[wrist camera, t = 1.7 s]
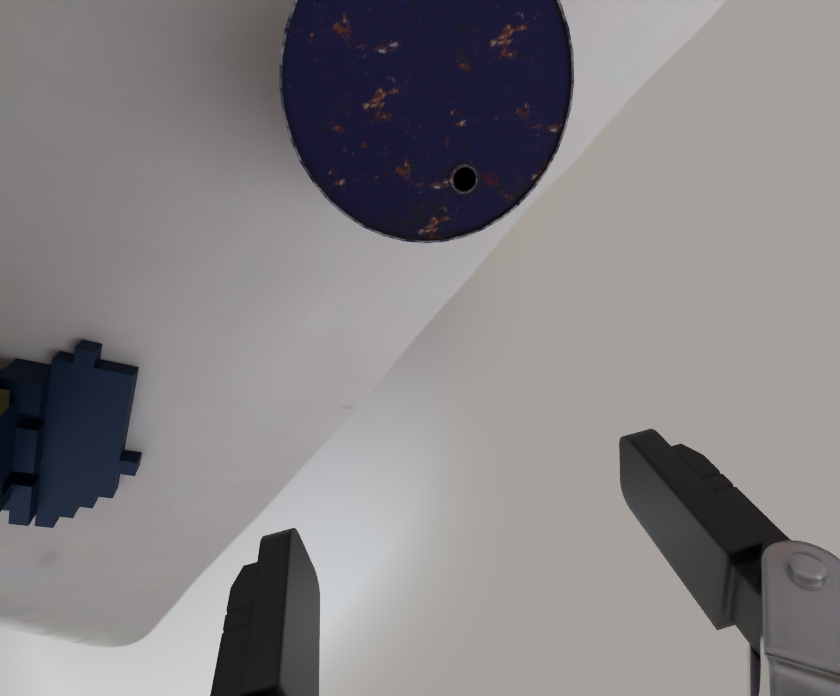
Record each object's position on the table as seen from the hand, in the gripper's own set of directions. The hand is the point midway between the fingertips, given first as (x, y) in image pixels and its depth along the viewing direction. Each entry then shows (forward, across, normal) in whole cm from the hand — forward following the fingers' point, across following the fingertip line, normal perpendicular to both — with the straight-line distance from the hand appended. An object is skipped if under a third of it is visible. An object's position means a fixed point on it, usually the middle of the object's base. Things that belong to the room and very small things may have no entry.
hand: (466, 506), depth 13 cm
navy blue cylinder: (+24, +2, +8) cm, 26 cm away
